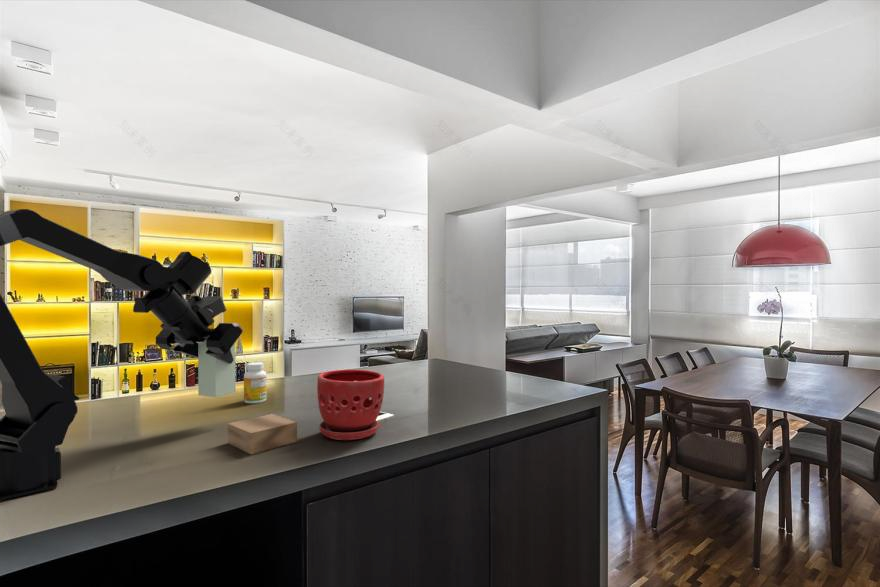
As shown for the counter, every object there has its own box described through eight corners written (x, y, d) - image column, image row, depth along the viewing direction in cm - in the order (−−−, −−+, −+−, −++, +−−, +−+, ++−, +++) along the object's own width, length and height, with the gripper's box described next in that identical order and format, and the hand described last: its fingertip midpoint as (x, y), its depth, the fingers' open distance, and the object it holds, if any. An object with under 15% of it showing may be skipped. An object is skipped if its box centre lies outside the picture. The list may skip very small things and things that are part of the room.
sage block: (215, 397, 94) (215, 333, 94) (198, 395, 96) (198, 333, 96) (235, 392, 98) (235, 331, 98) (218, 390, 100) (218, 331, 100)
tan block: (251, 456, 80) (251, 433, 80) (227, 444, 86) (227, 423, 86) (297, 443, 87) (296, 422, 87) (272, 433, 93) (272, 413, 93)
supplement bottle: (243, 399, 120) (243, 362, 120) (265, 397, 122) (265, 361, 122) (244, 404, 115) (244, 365, 115) (267, 402, 117) (267, 364, 117)
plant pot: (322, 448, 83) (322, 382, 83) (313, 428, 95) (313, 370, 95) (392, 439, 88) (392, 377, 88) (375, 421, 100) (375, 366, 100)
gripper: (235, 282, 90) (275, 333, 100) (168, 282, 97) (213, 331, 107) (200, 325, 82) (247, 376, 93) (131, 322, 90) (182, 370, 100)
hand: (222, 361), depth 98 cm, fingers closed on sage block, 5 cm apart
